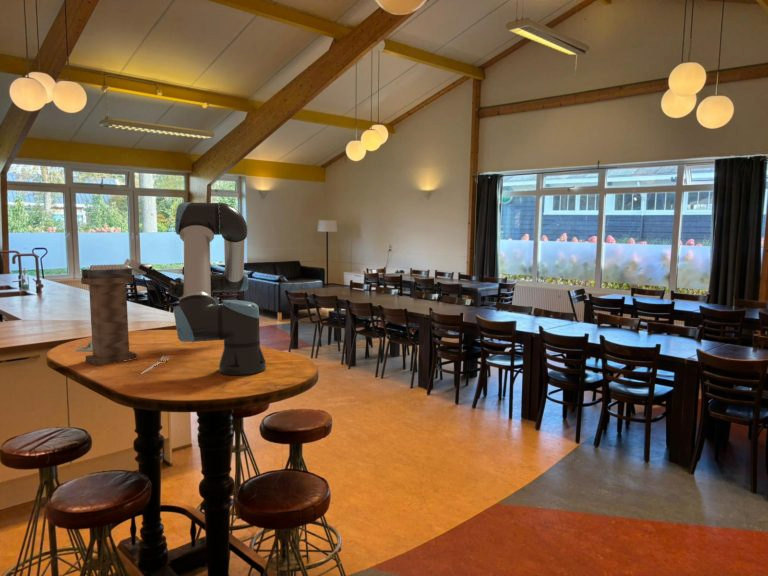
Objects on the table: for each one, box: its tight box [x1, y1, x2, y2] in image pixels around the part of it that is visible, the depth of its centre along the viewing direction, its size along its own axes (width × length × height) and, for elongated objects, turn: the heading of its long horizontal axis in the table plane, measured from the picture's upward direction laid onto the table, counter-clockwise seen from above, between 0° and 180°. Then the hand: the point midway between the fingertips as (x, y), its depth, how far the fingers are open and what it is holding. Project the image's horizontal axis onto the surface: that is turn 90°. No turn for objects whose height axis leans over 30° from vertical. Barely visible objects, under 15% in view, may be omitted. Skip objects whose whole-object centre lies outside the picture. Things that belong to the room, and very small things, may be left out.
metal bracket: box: [76, 340, 93, 352], centre depth 213 cm, size 14×6×15 cm
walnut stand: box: [80, 268, 138, 367], centre depth 190 cm, size 14×10×33 cm
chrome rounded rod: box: [89, 263, 152, 276], centre depth 192 cm, size 20×4×4 cm, turn 136°
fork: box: [139, 355, 170, 375], centre depth 182 cm, size 3×20×2 cm, turn 0°
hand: (128, 262), depth 194 cm, fingers closed on chrome rounded rod, 4 cm apart
